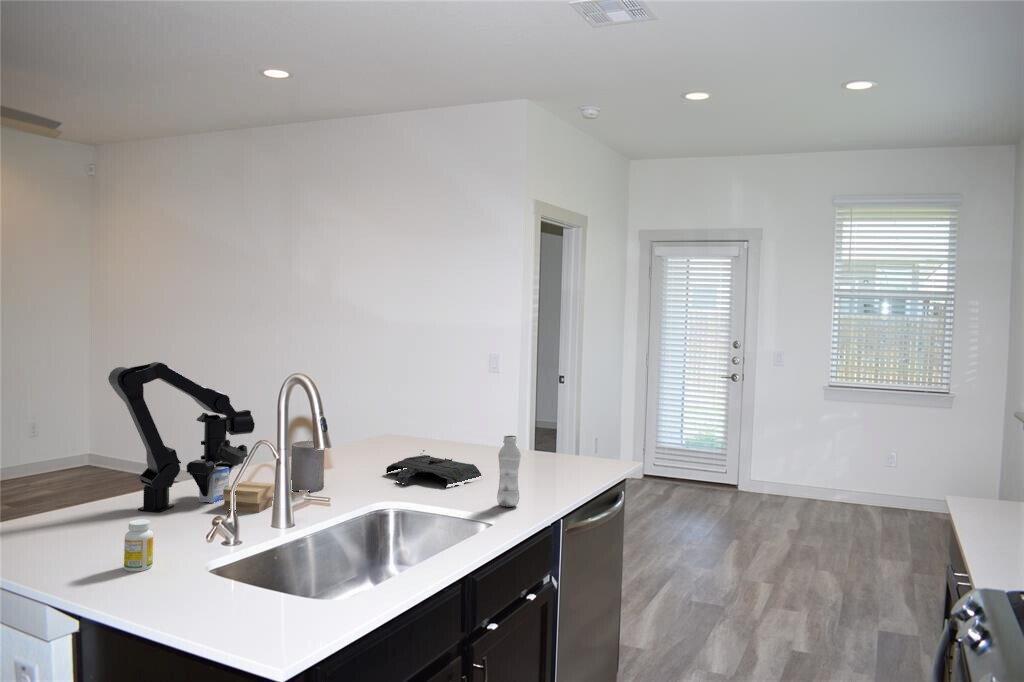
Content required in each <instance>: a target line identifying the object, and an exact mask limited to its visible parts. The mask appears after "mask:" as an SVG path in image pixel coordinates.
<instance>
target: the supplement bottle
mask: <svg viewBox="0 0 1024 682" xmlns="http://www.w3.org/2000/svg"><path fill="white" fill-rule="evenodd" d="M150 528H151V521H150V520H149V519H134V520H131V521H129V522H128V530H129V531H128V532H126V533H125V535H124V546H123V547H124V548H123V550H124V551H123V553H124V554H123V556H124V558H123V569H124V570H125V571H126V572H130V573H133V572H134V573H137V572H142V571H147V570H149V569H151V568H152V567H153V565H154V564H153V561H154V559H153V558H154V533H153V531H152V530H150Z"/></svg>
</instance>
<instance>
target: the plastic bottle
mask: <svg viewBox="0 0 1024 682" xmlns="http://www.w3.org/2000/svg"><path fill="white" fill-rule="evenodd" d="M517 443H518V442H517V436H516V435H513V434H511V435H509V434H508V435H504V436H503V446H502V447H501V448H500V450H499V451H498V455H497V456H498V463H499V464H498V465H499V481H498V489H497V492H496V493H497V494H496V500H497V504H498V505H499V506H501V507H505V506H506V508H510V507H511V508H512V507H515V506H517V505H519V502H520V498H521V497H520V491H519V469H520V463H521V457H522V455H521V452H520V450H519V447H518V446H517Z"/></svg>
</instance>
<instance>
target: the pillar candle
mask: <svg viewBox="0 0 1024 682" xmlns="http://www.w3.org/2000/svg"><path fill="white" fill-rule="evenodd" d="M313 441H314V440H310V439H308V440H304V441H303V440H300V441H294V442H292V443H291V451H290V452H291V454H290V455H291V456H290V461H291V462H290V481H291V480H292V489H293V492H296V491H299V490H309V491H310V492H309V493H315V492H316V493H317V492H319V491H322V490H323V489H324V487H325V485H324V484H325V449H324V450H316V451H315V450H314V444H313Z"/></svg>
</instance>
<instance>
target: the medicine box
mask: <svg viewBox="0 0 1024 682" xmlns="http://www.w3.org/2000/svg"><path fill="white" fill-rule="evenodd" d="M213 472H215V473H214V474H213V475H212V476H211V477H210V481H209V489H208V495H207V496H203V495H202V493H201V491H200V489H199V488H198V491H199V492H198V493H199V495H198V497H199V498H198V501H199V503H204V502H209V504H215V503H218V502H220V501H223V489H225V488H228V487H230V475H229V467H222V466H217V467H214V470H213ZM219 500H220V501H219ZM217 501H218V502H217ZM214 502H215V503H214Z"/></svg>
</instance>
